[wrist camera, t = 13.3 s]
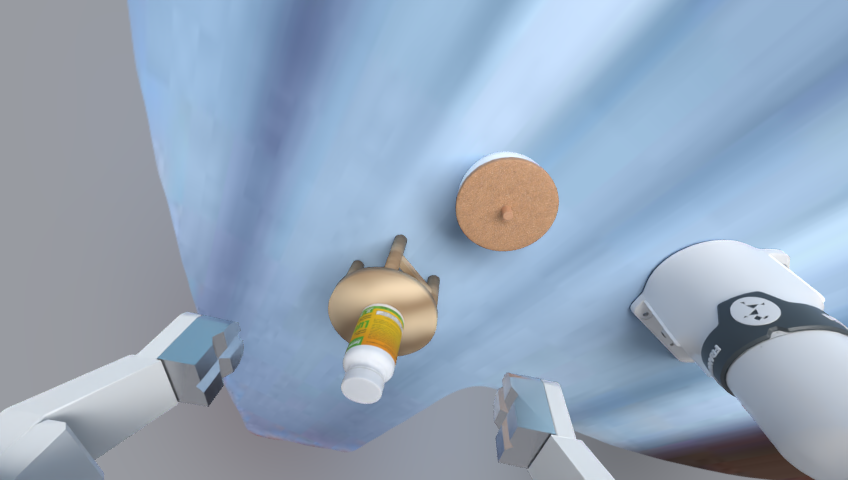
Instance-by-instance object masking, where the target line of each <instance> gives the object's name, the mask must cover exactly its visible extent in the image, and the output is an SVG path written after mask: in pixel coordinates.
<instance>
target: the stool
mask: <svg viewBox="0 0 848 480" xmlns="http://www.w3.org/2000/svg"><path fill="white" fill-rule="evenodd" d="M406 243H407V238H406V237H405V236H404V235H397V236H396V237H395V239H394V242H393V245H392V247H391V250H390V253H389V256H388V258H387V261H386V264H385V266H384V267H367V268H364V264H363V263H362V262H361V261H359V260H356V261H354V262H353V263H352V265H351V267H350V269H349V271H348V273H347V275H346V276H345V277H344V278H343V279H342V280H341V281H340V282H339V283H338V284H337V286H336V288H335V289H334V291H333V293H332V295H331V297H330V300H329V305H328V313H329V317H330V320H331V323H332V325H333V327H334V328H335V330H336V331H337V332H338V334H339V335H340V336H341V337H342V338H343V339H344V340H346V341H347V342H348V343H350V340H351V338H352V335H353V332H354V330H355V327H356V325H357V322H358V320H359V317H360V315H361V313H362V311H363V310H364V309H365V308H366V307H367V306H369V305H371V304H377V303H381V304H387V305H390V306H392V307H394V308H396V309H397V310H398V311H399V312H400V313H401V315H402V316H403V319H404V328H403V333H402V337H401V342H400V347H399V351H398V356H403V355H407V354H411V353H413V352H416V351H418V350H420V349H421V348H423V347H424V346H425V345H426V344H428V343H429V341H430V340H431V339H432V337H433V335H434V333H435V331H436V326H437V316H438V314H437V302H438V292H439V282H440V279H439V277H437V276H435V275H432V276H430V277H429V278H428V283H426V282H425V281H424V280H423V278H422V277H421V276H420V275H419V274H418V272H417V271H416V270H415V269H414V268H413V266H412V265H411V264H410V263H409V262H408V261H407V259H406V258H405V257H404V256H403V253H404V250H405V246H406ZM399 268H400V269H401V270H402V271H403V272H402V271H399Z"/></svg>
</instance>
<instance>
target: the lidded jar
mask: <svg viewBox="0 0 848 480" xmlns="http://www.w3.org/2000/svg"><path fill="white" fill-rule="evenodd" d="M558 205H559V198H558V192H557V188H556V186H555V184H554V182H553V180H552V179H551V177H550V176H549V174H548V173H547V172H546V171H545V170H544V169H543V168H542V167H541V166H540V165H538V164H537V163H536V162H535V161H533V160H532V159H530V158H529V157H527V156H525V155H522V154H519V153H515V152H497V153H492V154H490V155H487V156H485V157H483V158H481V159H479V160H478V161H477V162H476V163H474V164H473V165H472V166H471V167H470V168H469V170H468V171H467V172H466V174H465V175H464V177H463V179H462V181H461V184H460V187H459V190H458V195H457V199H456V217H457V221H458V223H459V226H460V228H461V229H462V231H463V233H464V234H465V235H466V236H467V237H468V238H469V239H470V240H471V241H473V242H474V243H476V244H477V245H479V246H481V247H484V248H486V249H490V250H495V251H511V250H517V249H520V248H524V247H526V246H528V245H530V244H532V243H534V242H535V241H537V240H538V239H539V238H541V237H542V236H543V235H544V234H545V233H546V232H547V231H548V230H549V228H550V227H551V225H552V224H553V222H554V220H555V218H556V215H557V211H558Z"/></svg>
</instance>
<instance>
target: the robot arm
mask: <svg viewBox="0 0 848 480" xmlns="http://www.w3.org/2000/svg"><path fill="white" fill-rule="evenodd" d="M789 264H790V257H789V256H788V255H787V254H786V253H785V252H783V251H782V250H778V249H758V248H755V247H752V246H750V245H748V244H745V243H742V242H739V241H733V240H714V241H707V242H703V243H699V244H695V245H692V246H690V247H687V248H685V249H683V250H681V251H679V252H677V253H675V254H673V255H672V256H670V257H669V258H667V259H666V260H665V261H663V262H662V263H661V264H660V265H659V266H658V267H657V268H656V269H655V270H654V272H653V273H652V274H651V276H650V277H649V279H648V281H647V284H646V286H645V289H644V291H643V292H642V294H641V295H640V296H639V297H638V298H637V299H636V300H635V301H634V302H633V303H632V305H631V307H630V309H631V311H632V312H633V313H634V314H635V315H636V317H637V318H638V319H639V320H640V321H641V322H642V323H643V324H644V325H645V326H646V327H647V328H648V329H649V330H650V331H651V332H652V333H653V334H654V335H655V336H656V337H657V338H658V339H659V341H660V342H661V343H662V344H663V345H664V346H665V347H666V348H667V349H668V350H669V351H670V352H671V353H672V354H673V355H674V356H675V357H676V358H677V359H678V360H679V361H681V362H696V364H697V365H698V366H699V367H700V368H701V369H702V370H703V371H704V372H705V373H706V374H707V376H709V377H711V378H714V379H715V380H716V381H717V383H718V384H719V385H721V386H722V387H723V388H724V389H725V390H726V391H727V392H728V393H730V394H731V395H733V396H735V397H736V398H737V399H738V400H739V402H740V403H741V404H742V406H743V407H744V408H745V409H746V411H747V412H748V413H749V414H750V416H751V417H752V418H753V419H754V421H755V422H756V423H757V424H758V426H759V427H760V428H761V430H762V431H763V432H764V433H765V435H766V436H767V437H768V438H769V440H770V441H771V442H772V443H773V445H774V446H775V447H776V448H777V450H778V451H779V452H780V454H781V455H782V456H783V457H784V458H785V459H786V460H788V461H789V462H790V463H791V464H792V465H793V466H795V467H796V468H797V469H799V470H800V471H802V472H803V473H805V474H806V475H808V476H810V477H812V478H814V479H816V480H848V328H847V327H846V326H845V325H843V324H842V323H841V322H839V321H838V320H837V319H835V318H833V317H831V316H829V315H828V314H826V313H825V312H824V311H823V310H824V303H823V302H824V301H825V299H824V297H823V296H822V295H821V294H820V293H819V292H817V291H816V290H815V289H814V288H812V287H811V286H810V285H809V284H807V283H806V282H805V281H803V280H802V279H801V278H800V277H798V276H797V275H796V274H794V273H793V272H792V271H791V270H789ZM645 312H646V313H645ZM240 331H241V329H240V326H239V323H238V322H233V321H229V320H224V319H219V318H215V317H210V316H206V315H201V314H196V313H191V312H185V313H183V314H180V315H179V316H178V317H177V318H176V319H175V320H174V321H173V322H171V323H170V324H169V325H168V326H167V327H166V328H165V329H164V330H163V331H162V332H161V333H160V334H159V335H157V336H156V337H155V338H154V339H153V340H152V341H151V342H150V343H149V344H148V345H147V346H146V347H145V348H144V349H142V350H141V351H140V352H139V353H138V354H137V355H132V354H131V355H128V356H126V357H124V358H121V359H119V360H117V361H115V362H112V363H110V364H108V365H105V366H103V367H101V368H99V369H96V370H94V371H91V372H89V373H87V374H85V375H83V376H80V377H78V378H75V379H73V380H71V381H69V382H66V383H64V384H62V385H59V386H57V387H55V388H52V389H50V390H48V391H46V392H43V393H41V394H39V395H36V396H34V397H32V398H29V399H27V400H25V401H23V402H20V403H18V404H16V405H13V406H11V407H9V408H7V409H5V410H4V411H2V412H1V413H0V480H104V472H103V471H102V470H101V468H100V467H99V466H98V464H97V463H96V462H95V460H96V459H97V458H99V457H100V456H102V455H103V454H105V453H106V452H108V451H109V450H110V449H112V448H113V447H115V446H116V445H118V444H119V443H121V442H122V441H124V440H125V439H127V438H128V437H130V436H131V435H133V434H134V433H136V432H137V431H139V430H140V429H142V428H143V427H145V426H146V425H148V424H149V423H150V422H152V421H153V420H155V419H156V418H158V417H159V416H161V415H162V414H164V413H165V412H167V411H168V410H170V409H171V408H173V407H174V406H176V405H177V404H178V402H182V403H188V404H195V405H202V406H207V407H209V405H210V404H211V402H212V401H213V400H214V398H215V397H216V395H217V394H218V393H219V391H220V390H221V389H222V387H223V386H224V383H223V378H224V377H226V376H227V375H229V374H231V373H233V372H234V370H235V369H236V367H237V366H238V364H239V362H240V360H241V358H242V355H243V350H244V345H243V340H242V339H241V338H240V337H239V336H238V334H239V332H240ZM502 383H503V387H501V388H500V389H498V391H497V393H496V396H495V401H494V422H495V424H496V425H497V426H498V428H499V432H498V434H497V436H496V447H497V457H498V462H499V463H504V464H508V465H513V466H517V467H522V468H526V469H528V472H529V474H530V476H531V478H532V479H533V480H615V479H614V478H613V477H612V476H611V475H610V473H609V472H608V471H607V470H606V468H605V467H604V466H603V465H602V464H601V463H600V461H599V460H598V459H597V458H596V457H595V455H594V454H593V453H592V452H591V451H590V449H589V448H588V447H587V446H586V445H585V443H584V442H583V441H582V440H578V439H576V436H575V433H574V429H573V426H572V423H571V419H570V416H569V413H568V409H567V406H566V403H565V400H564V396H563V393H562V390H561V386H560V385H559V383H558V382H554V381H548V380H543V379H539V378H534V377H529V376H523V375H517V374H511V373H506V374H505V375H504V377H503V379H502Z"/></svg>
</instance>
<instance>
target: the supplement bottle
mask: <svg viewBox="0 0 848 480" xmlns="http://www.w3.org/2000/svg"><path fill="white" fill-rule="evenodd" d="M403 328H404V319H403V316H402V315H401V313H400V312H399V311H398V310H397V309H396V308H394V307H392V306H390V305H387V304H381V303H377V304H371V305H369V306H367V307H366V308H365V309H364V310H363V311H362V313H361V315H360V317H359V320H358V322H357V325H356V327H355V330H354V332H353V335H352V338H351V340H350V343H349V345H348V348H347V350H346V353H345V356H344V359H343V368H344V371H345V372H346V373H345V376H344V378H343V381H342V384H341V390H342V392H343V394H344V395H345V396H346V397H347V398H348V399H350V400H352V401H354V402H357V403H362V404H371V403H374V402H377V401H378V400H379V399H380V398H381V396H382V392H383V388H384V383H386V382H387V381H388V380H389V379H390V378H391V377H392V375H393V373H394V369H395V365H396V360H397V356H398V351H399V347H400V342H401V337H402V333H403Z"/></svg>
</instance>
